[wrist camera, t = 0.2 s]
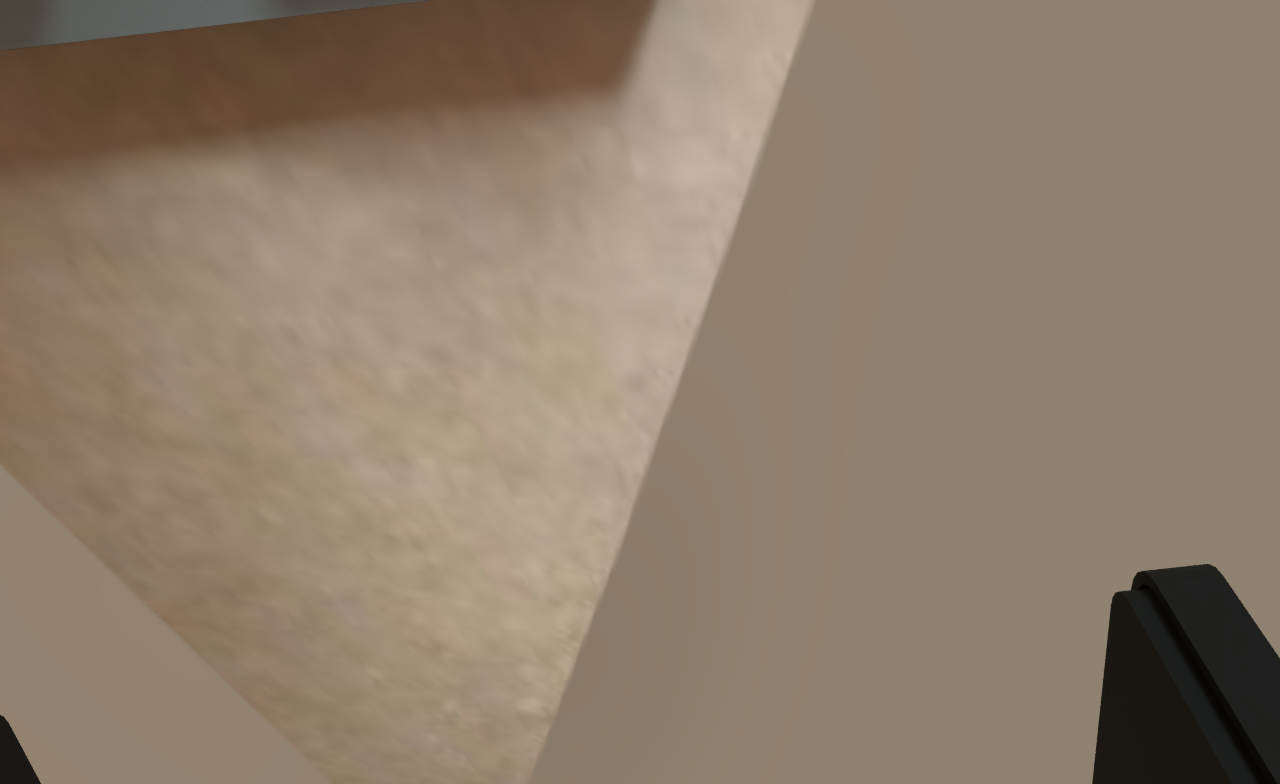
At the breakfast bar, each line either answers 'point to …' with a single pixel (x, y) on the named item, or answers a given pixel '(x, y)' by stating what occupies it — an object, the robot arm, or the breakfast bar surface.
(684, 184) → the breakfast bar surface
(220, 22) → the key panel
